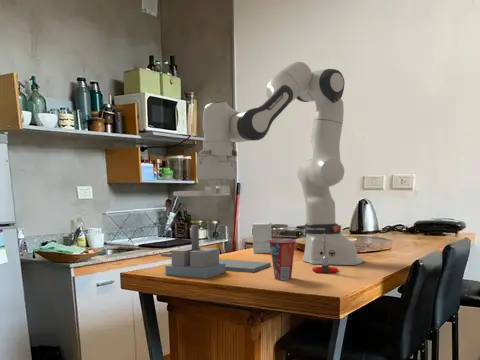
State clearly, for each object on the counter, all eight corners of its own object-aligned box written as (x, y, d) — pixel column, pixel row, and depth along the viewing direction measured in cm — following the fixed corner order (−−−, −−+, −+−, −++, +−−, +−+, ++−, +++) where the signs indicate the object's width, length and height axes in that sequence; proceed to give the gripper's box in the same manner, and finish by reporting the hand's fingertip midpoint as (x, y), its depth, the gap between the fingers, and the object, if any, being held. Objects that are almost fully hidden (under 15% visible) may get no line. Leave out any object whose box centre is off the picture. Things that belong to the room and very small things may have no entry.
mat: (270, 265, 171) (270, 262, 171) (253, 272, 159) (253, 268, 159) (218, 262, 182) (218, 259, 182) (198, 268, 169) (198, 264, 169)
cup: (280, 274, 154) (280, 237, 154) (302, 278, 148) (301, 239, 148) (261, 279, 147) (261, 240, 147) (283, 282, 141) (282, 242, 141)
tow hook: (312, 269, 165) (312, 273, 156) (311, 232, 165) (311, 233, 156) (337, 270, 163) (338, 273, 154) (336, 232, 164) (337, 233, 155)
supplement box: (272, 251, 210) (271, 222, 210) (269, 253, 202) (269, 223, 203) (256, 250, 211) (255, 222, 212) (252, 253, 204) (252, 223, 204)
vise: (225, 272, 160) (224, 224, 161) (206, 278, 150) (205, 227, 150) (172, 267, 171) (171, 223, 171) (151, 273, 160) (150, 226, 160)
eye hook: (173, 196, 157) (173, 187, 157) (190, 195, 166) (190, 186, 166) (220, 195, 149) (219, 186, 149) (235, 194, 158) (235, 185, 158)
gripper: (207, 148, 145) (208, 194, 144) (239, 152, 163) (240, 192, 162) (190, 150, 148) (191, 194, 147) (223, 153, 166) (224, 192, 165)
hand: (217, 193), depth 155 cm, fingers closed on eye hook, 2 cm apart
